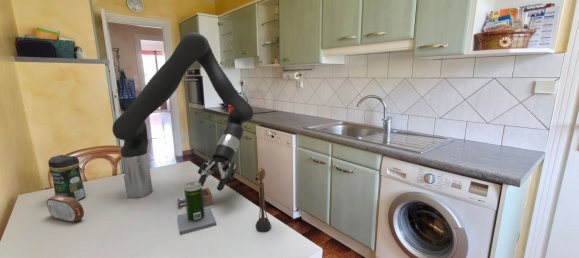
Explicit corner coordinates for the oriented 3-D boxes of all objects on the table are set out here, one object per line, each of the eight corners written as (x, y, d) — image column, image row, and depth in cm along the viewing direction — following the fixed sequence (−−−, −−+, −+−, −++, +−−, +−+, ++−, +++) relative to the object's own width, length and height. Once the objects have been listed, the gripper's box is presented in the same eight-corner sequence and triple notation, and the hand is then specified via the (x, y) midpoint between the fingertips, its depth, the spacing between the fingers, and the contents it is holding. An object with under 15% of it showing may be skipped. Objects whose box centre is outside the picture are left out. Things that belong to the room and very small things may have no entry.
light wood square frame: (179, 212, 94) (178, 203, 93) (177, 202, 102) (176, 193, 101) (213, 204, 99) (212, 195, 99) (209, 195, 107) (208, 187, 106)
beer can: (207, 218, 87) (204, 184, 85) (191, 224, 84) (187, 189, 81) (201, 212, 91) (197, 180, 89) (185, 218, 88) (181, 184, 85)
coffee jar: (52, 202, 104) (42, 157, 101) (73, 193, 112) (65, 152, 108) (68, 205, 101) (59, 159, 98) (89, 196, 109) (81, 153, 105)
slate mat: (180, 234, 80) (179, 231, 80) (177, 218, 90) (177, 215, 90) (216, 224, 85) (216, 222, 85) (210, 210, 95) (210, 207, 95)
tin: (86, 220, 90) (82, 197, 88) (76, 225, 87) (71, 202, 86) (58, 214, 95) (53, 192, 93) (47, 218, 92) (42, 196, 90)
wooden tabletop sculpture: (266, 235, 79) (263, 172, 75) (252, 233, 80) (248, 171, 76) (272, 224, 84) (270, 165, 80) (259, 222, 86) (256, 164, 82)
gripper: (206, 142, 100) (187, 181, 92) (237, 145, 95) (220, 187, 87) (216, 151, 106) (199, 189, 98) (246, 155, 100) (230, 195, 92)
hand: (209, 188), depth 92 cm, fingers open, 8 cm apart
